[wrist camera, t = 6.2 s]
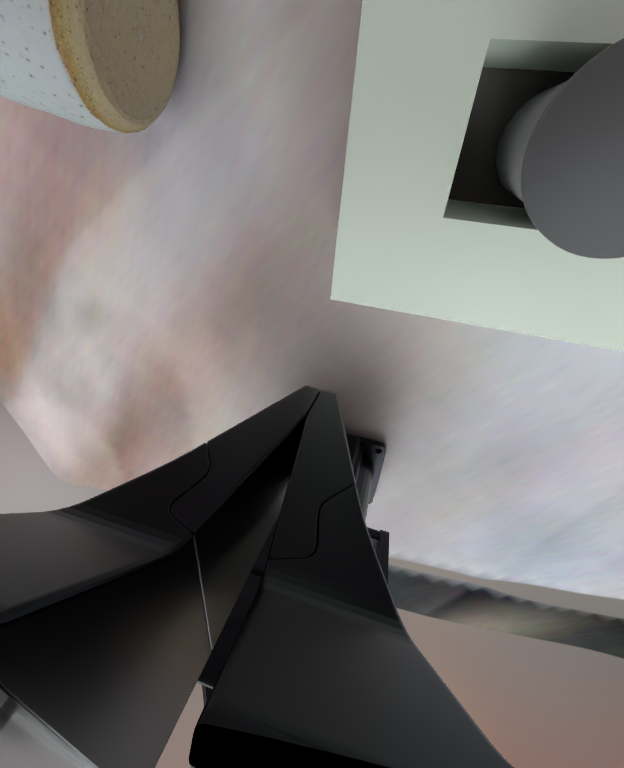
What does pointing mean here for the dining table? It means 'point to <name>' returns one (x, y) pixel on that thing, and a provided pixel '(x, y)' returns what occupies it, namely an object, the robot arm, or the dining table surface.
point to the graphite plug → (572, 158)
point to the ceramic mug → (91, 59)
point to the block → (438, 164)
